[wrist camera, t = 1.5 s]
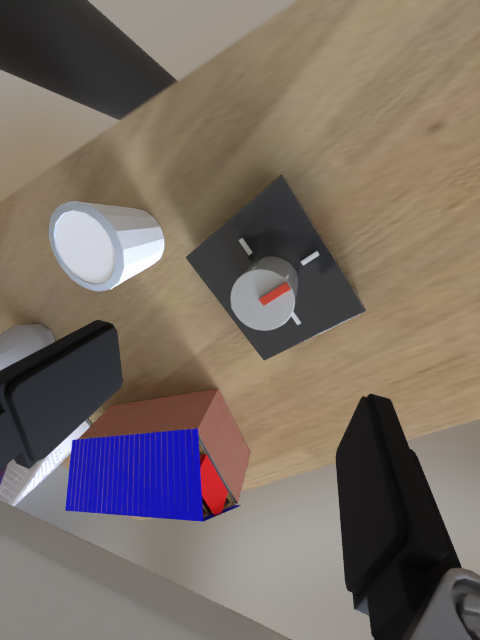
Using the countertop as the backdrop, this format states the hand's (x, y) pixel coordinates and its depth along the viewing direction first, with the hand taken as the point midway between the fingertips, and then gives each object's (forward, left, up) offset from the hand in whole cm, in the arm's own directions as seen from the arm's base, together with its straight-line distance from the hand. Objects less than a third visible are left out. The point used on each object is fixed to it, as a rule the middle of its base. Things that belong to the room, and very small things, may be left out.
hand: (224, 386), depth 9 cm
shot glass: (-11, -10, -16) cm, 22 cm away
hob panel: (0, 0, -16) cm, 16 cm away
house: (+11, -25, -16) cm, 32 cm away
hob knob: (0, 0, -13) cm, 13 cm away
